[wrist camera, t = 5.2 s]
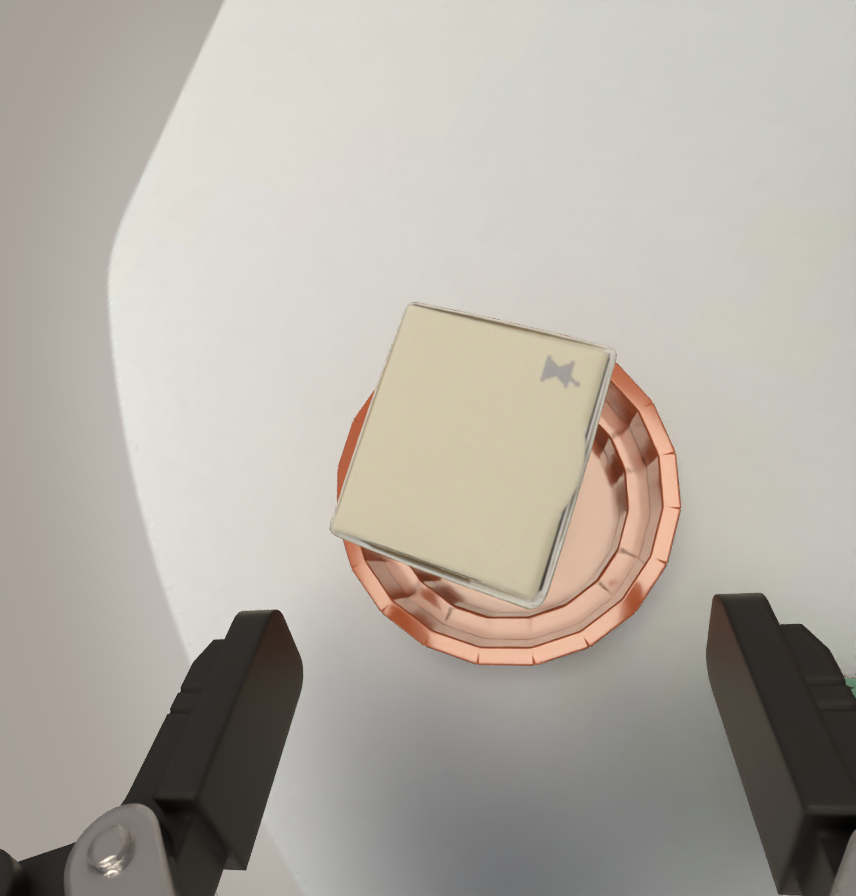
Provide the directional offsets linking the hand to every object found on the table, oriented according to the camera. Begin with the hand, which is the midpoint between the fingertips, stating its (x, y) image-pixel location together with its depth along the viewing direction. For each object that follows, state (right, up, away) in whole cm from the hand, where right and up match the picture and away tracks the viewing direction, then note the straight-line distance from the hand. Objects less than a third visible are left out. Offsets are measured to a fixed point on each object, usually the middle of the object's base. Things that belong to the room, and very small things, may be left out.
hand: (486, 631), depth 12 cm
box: (+2, +1, +11) cm, 11 cm away
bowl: (+2, +1, +11) cm, 11 cm away
